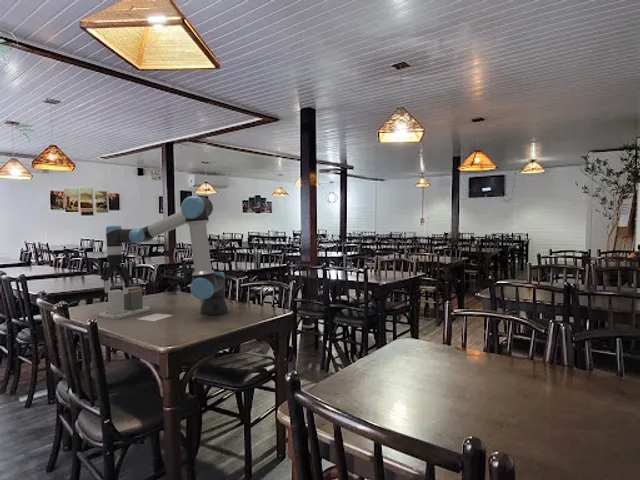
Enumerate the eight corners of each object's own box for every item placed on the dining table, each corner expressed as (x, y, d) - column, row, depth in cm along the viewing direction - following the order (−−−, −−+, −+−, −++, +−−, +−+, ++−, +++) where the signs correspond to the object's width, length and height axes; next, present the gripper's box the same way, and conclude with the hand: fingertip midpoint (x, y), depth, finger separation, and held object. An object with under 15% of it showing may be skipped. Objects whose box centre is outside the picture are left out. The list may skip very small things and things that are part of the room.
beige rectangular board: (151, 310, 242) (150, 307, 242) (116, 319, 220) (116, 316, 220) (132, 308, 247) (132, 305, 247) (97, 316, 225) (97, 313, 225)
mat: (173, 315, 228) (173, 315, 228) (153, 321, 215) (153, 321, 215) (156, 313, 232) (156, 313, 232) (136, 319, 220) (136, 318, 220)
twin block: (142, 309, 241) (142, 287, 241) (131, 312, 234) (131, 289, 233) (134, 308, 244) (134, 286, 243) (123, 311, 236) (122, 288, 236)
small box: (124, 315, 227) (124, 291, 227) (111, 316, 223) (111, 292, 222) (120, 312, 233) (120, 289, 233) (108, 314, 229) (107, 290, 229)
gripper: (137, 253, 225) (139, 293, 226) (104, 253, 235) (106, 290, 236) (126, 255, 218) (127, 295, 219) (92, 254, 228) (94, 293, 229)
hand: (116, 293), depth 228 cm, fingers open, 13 cm apart
